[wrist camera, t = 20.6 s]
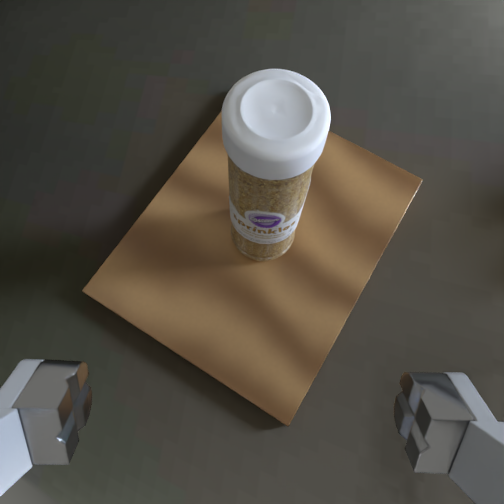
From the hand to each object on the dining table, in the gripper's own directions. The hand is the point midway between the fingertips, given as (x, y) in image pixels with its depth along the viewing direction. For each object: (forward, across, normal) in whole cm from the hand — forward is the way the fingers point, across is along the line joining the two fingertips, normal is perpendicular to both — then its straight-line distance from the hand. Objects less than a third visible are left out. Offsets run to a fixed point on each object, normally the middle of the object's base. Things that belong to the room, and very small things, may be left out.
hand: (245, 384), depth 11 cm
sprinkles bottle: (+19, -1, +4) cm, 20 cm away
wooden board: (+19, -1, +4) cm, 20 cm away
